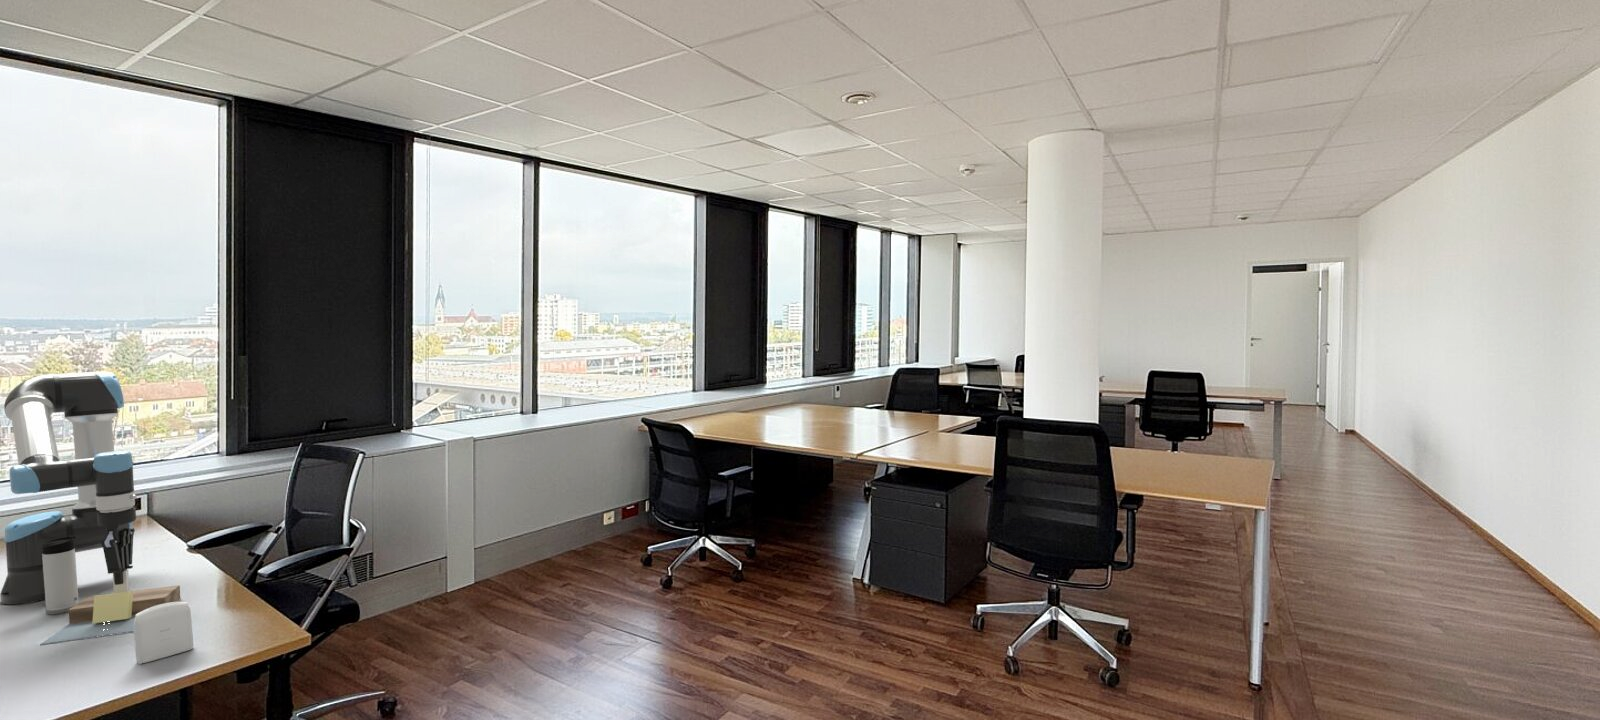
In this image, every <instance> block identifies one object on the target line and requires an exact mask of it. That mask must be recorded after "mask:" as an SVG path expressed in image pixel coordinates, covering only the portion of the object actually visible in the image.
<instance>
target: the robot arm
mask: <svg viewBox="0 0 1600 720" xmlns="http://www.w3.org/2000/svg"><path fill="white" fill-rule="evenodd" d="M121 387H122V386H121V383H120V381H119V379H118V377H117V375H116V374H115V373H113V372H111V371H88V372H70V373H69V372H67V373H44V374H40V375H36V376H33V377H30V378H27V379H26V380H24V381H22V382H20V383H19V384H18V385H17V386H15V387H14V388H13V389H12V390H11V391H10V392H9V393H8V395H7V397H6V398H5V401H4V404H3V406H4V415H5V416H6V417H7V419H8V420H10V421H11V425H12V430H13V437H14V443H15V449H16V455H17V462H18V465H14V466H11V467H10V468H9V485H10V491H11V492H12V493H13V494H15V495H22V494H23V495H25V494H30V493H31V494H37V493H41V492H48V491H55V490H56V491H57V490H62V489H69V488H77V495H78V496H77V497H78V502H77V503H76V504H74V505H73V506H72V507H71V514H65V515H64V513H63V512H62V511H60V510H55V511H54V510H53V511H47V512H42V513H41V512H40V513H36V514H31V515H28V516H24V517H21V518H18V519H16V520H14V521H11V522H10V523H8V524H7V525H6V526H5V529H4V539H3V542H4V543H5V551H6V552H5V553H6V555H5V557H6V569H7V570H6V571H7V576H6V577H5V581H4V583H3V585H2V588H1V591H0V603H1V604H3V605H19V604H18V603H22V604H28V602H29V603H34V602H33V601H35V602H39V601H38V600H40V601H44V600H43V599H45V587H44V573H43V559H42V557H43V555H42V551H43V550H42V544H44V543H46V542H48V541H51V540H54V539H58V538H63V537H68V536H75V538H74V548H75V550H74V551H75V554H76V553H81V552H87V551H92V550H98V549H102V550H103V554H104V560H105V564H106V569H107V574H112V578H113V579H112V581H113V582H112V584H113V593H120V592H128V591H131V590H130V577H129V576H130V575H129V569H133V567H134V566H133V553H134V552H133V551H134V535H135V527H133V522H135V521H136V520H137V509H136V507H135V504H136V500H135V499H137V494H135V487H134V486H135V485H134V484H135V483H134V461H133V456H132V452H130V451H129V450H115V446H114V445H115V444H114V433H113V419H114V418H115V417H116V416H117V415H118V414H119V412H118V409H121V408H124V405H125V402H124V401H125V400H124V394H123V390H122V388H121ZM53 413H64V419H66V420H67V421H69V422H70V423H72V433H73V434H72V435H73V444H74V446H73V447H74V457H75V459H67V460H60V457H59V452H58V451H59V450H58V446H57V441H56V436H55V431H54V426H53V421H52V417H51V416H52V415H53ZM132 527H133V528H132Z"/></svg>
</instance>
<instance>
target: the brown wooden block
mask: <svg viewBox="0 0 1600 720" xmlns="http://www.w3.org/2000/svg"><path fill="white" fill-rule="evenodd" d="M132 591H133V600H132V615H136V614H137V613H139V612H141V611H143V610H145V609H148V608H150V607H153V606H156V605H160V604H164V603H170V602H179V601H180V600H181V586H180V585H179V584H177V585H170V586H169V585H168V586H163V587H155V588H148V589H146V588H145V589H138V590H132ZM94 596H95V595H92V596H91V595H90V596H87V597H85V598H83V600H81V601H80V602H79V601H78V602H79V603H78V604H76V605H75V606H73V607H72V608H70V609H69V610H68V612H67V614H68V624H71V623H78V622H86V621H93V608H94ZM179 599H180V600H179ZM178 600H179V601H178Z"/></svg>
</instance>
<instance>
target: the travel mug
mask: <svg viewBox="0 0 1600 720" xmlns="http://www.w3.org/2000/svg"><path fill="white" fill-rule="evenodd" d="M74 538H75V536H68V537H63V538H58V539H54V540H51V541H48V542H46V543H44V544H42V550H43V551H42V555H43V557H42V559H43V573H44V587H45V600H44V601H45V607H46V608H45V612H46V614H48V615H59V614H64V612H65V613H68V610H69V609H70V608H72V607H73V606H75V605H76V604H78V603H79V589H78V575H77V561H76V559H77V558H76V553H75V551H74V550H75V548H74Z"/></svg>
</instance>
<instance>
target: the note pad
mask: <svg viewBox="0 0 1600 720" xmlns="http://www.w3.org/2000/svg"><path fill="white" fill-rule="evenodd" d="M133 591H134V590H130V591H128V592H120V593H114V592H113V593H105V594H98V595H97V594H95V595H93V596H94V608H93V621H92V624H93V623H100V622H107V621H115V620H122V619H129V618H131V616H132V600H133Z"/></svg>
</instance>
